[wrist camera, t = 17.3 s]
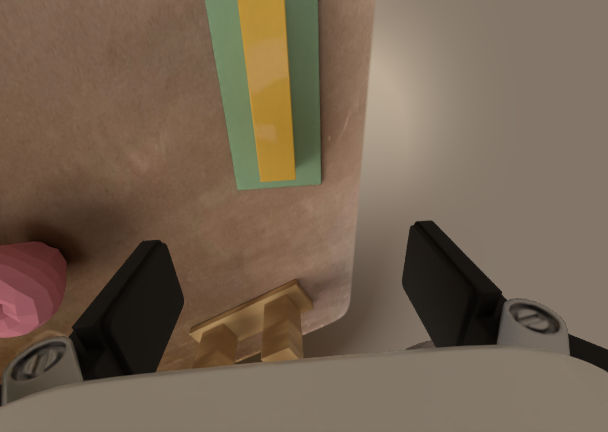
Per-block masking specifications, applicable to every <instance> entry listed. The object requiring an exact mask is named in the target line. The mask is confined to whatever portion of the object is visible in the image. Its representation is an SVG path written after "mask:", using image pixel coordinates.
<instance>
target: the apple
mask: <svg viewBox="0 0 608 432" xmlns="http://www.w3.org/2000/svg"><path fill="white" fill-rule="evenodd" d="M66 268H67V262H66V260H65V259H64V257H63V256H62V254H61V253H60V251H59V249H56V248H52V247H49V246H48V245H46V244H44V243H43V242H35V241H32V242H24V243H17V244H11V245H0V337H14V336H19V335H24V334H27V333H29V332H31V331H33V330H35V329H37V328H38V327H40V326H41V325H43V324H44V323H45V322H46V321H48V320H49V319H50V318H51V317H52V316H53V315H54V314H55V313H56V312H57V311H58V309H59V307H60V305H61V303H62V300H63V296H64V292H65V287H66Z"/></svg>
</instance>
